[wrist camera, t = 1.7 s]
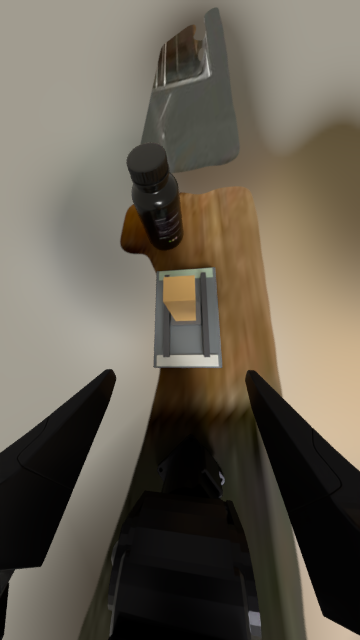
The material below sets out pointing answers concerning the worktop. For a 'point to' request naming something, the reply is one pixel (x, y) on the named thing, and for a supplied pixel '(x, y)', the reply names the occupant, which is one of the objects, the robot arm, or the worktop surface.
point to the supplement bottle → (156, 195)
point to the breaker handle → (181, 300)
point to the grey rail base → (189, 341)
